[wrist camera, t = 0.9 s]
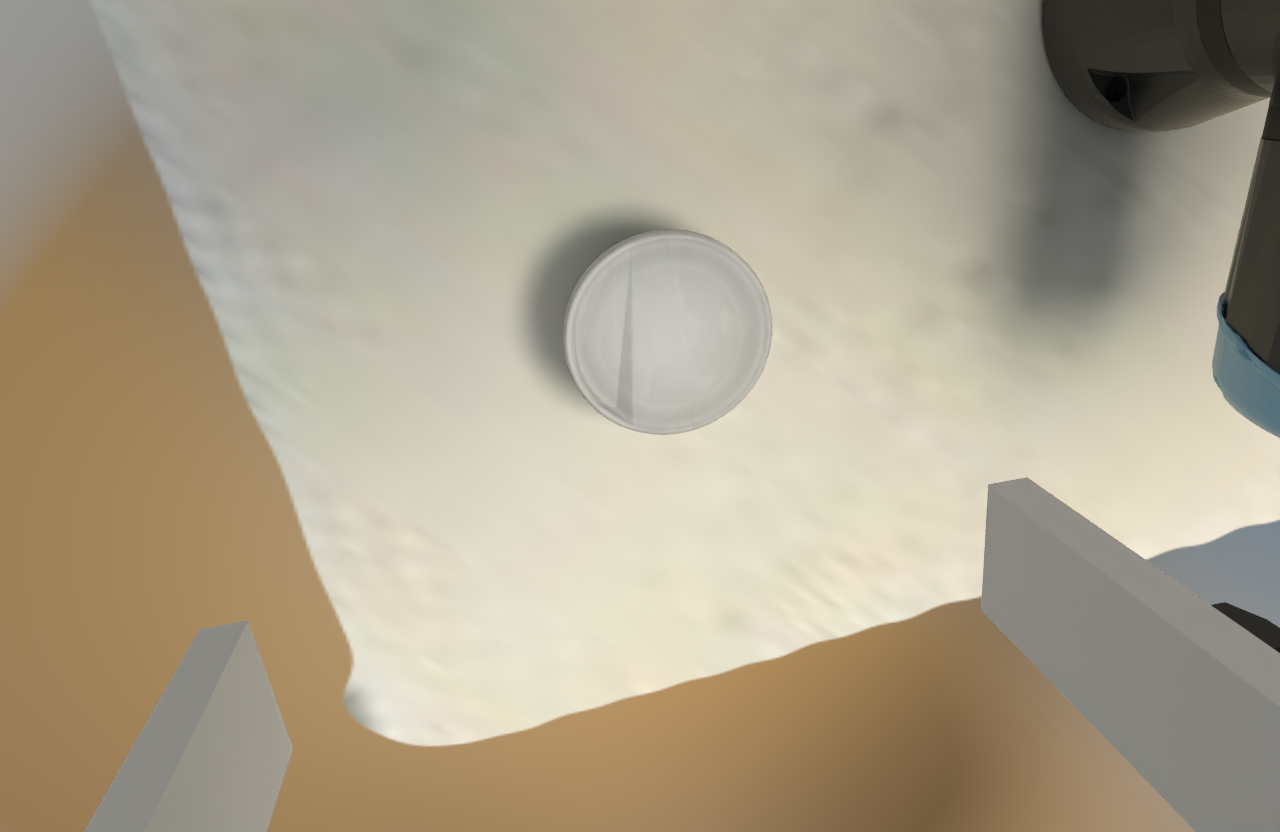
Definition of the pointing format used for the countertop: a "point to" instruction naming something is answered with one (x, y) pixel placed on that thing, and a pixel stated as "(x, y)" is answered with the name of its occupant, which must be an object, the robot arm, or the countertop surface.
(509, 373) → the countertop surface
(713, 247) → the ramekin
